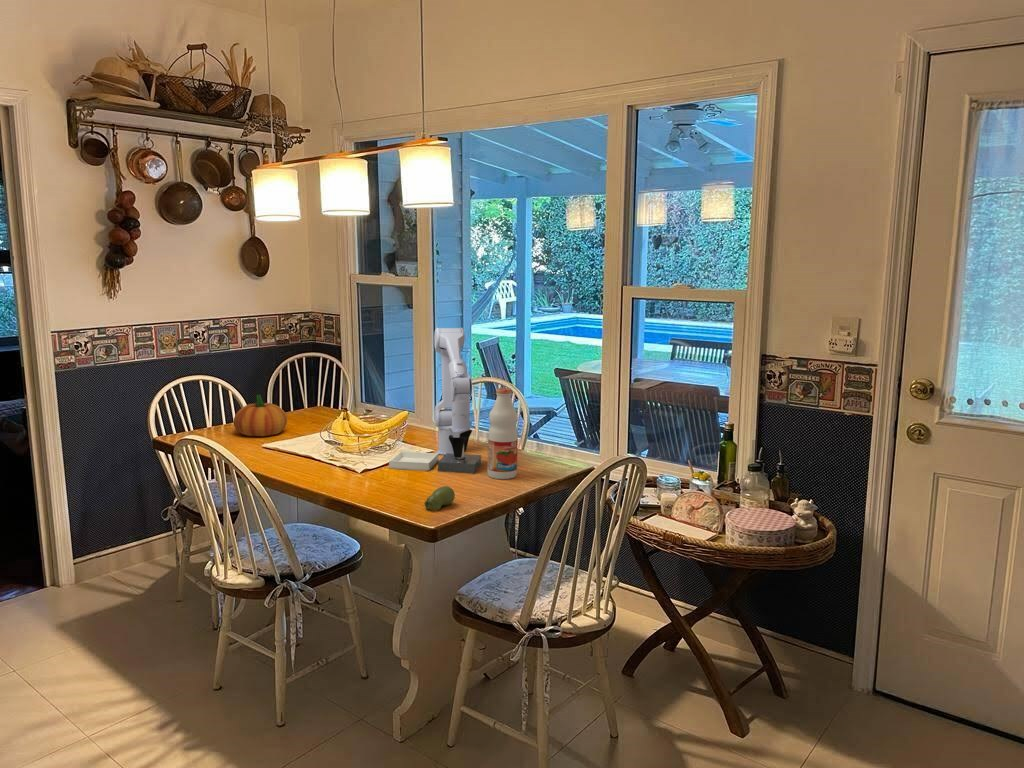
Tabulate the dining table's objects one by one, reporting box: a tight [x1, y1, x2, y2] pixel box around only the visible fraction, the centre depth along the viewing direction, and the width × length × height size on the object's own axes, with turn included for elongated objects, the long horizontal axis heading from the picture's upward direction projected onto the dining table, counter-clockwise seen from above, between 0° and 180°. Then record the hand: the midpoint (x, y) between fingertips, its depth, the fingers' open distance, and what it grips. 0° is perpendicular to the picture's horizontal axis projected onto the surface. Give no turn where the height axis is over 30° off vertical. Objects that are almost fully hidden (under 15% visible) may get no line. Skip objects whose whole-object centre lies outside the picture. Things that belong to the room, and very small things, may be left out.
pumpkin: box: [233, 394, 288, 438], centre depth 297 cm, size 19×19×15 cm
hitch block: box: [437, 453, 482, 474], centre depth 256 cm, size 12×12×3 cm
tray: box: [388, 450, 439, 472], centre depth 258 cm, size 13×13×3 cm
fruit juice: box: [486, 387, 519, 480], centre depth 246 cm, size 9×9×28 cm
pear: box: [424, 485, 456, 511], centre depth 216 cm, size 6×5×10 cm
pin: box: [457, 445, 465, 460], centre depth 256 cm, size 2×2×8 cm
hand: (460, 454), depth 256 cm, fingers open, 7 cm apart
